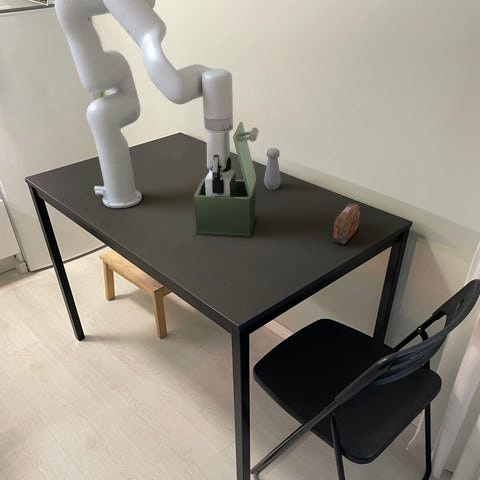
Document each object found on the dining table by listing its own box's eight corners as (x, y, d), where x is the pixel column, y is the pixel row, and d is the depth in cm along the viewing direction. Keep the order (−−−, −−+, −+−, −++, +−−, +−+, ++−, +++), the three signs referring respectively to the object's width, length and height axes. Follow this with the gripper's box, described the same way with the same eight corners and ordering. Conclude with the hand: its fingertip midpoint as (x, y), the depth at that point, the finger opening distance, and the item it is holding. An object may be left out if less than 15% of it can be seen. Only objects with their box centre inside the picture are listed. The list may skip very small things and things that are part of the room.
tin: (340, 249, 133) (343, 221, 127) (329, 246, 134) (332, 218, 129) (360, 226, 143) (364, 199, 137) (350, 223, 144) (353, 197, 139)
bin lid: (232, 137, 122) (252, 133, 120) (239, 122, 131) (258, 117, 130) (248, 197, 131) (267, 193, 130) (253, 179, 141) (271, 175, 139)
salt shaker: (261, 189, 164) (261, 151, 156) (266, 182, 168) (267, 145, 160) (277, 191, 162) (278, 153, 154) (282, 185, 166) (284, 147, 158)
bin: (196, 234, 141) (193, 196, 133) (205, 214, 150) (202, 178, 143) (250, 237, 139) (249, 198, 132) (255, 217, 148) (255, 180, 141)
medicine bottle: (230, 204, 136) (229, 162, 128) (206, 202, 137) (203, 160, 130) (235, 193, 141) (235, 152, 134) (212, 191, 143) (210, 151, 135)
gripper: (210, 112, 133) (213, 174, 144) (197, 133, 120) (201, 199, 131) (237, 113, 132) (238, 175, 143) (227, 134, 119) (229, 201, 130)
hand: (220, 186), depth 137 cm, fingers closed on medicine bottle, 7 cm apart
